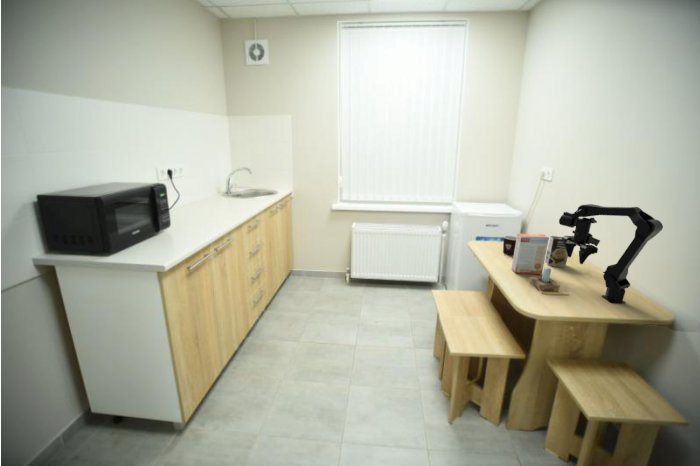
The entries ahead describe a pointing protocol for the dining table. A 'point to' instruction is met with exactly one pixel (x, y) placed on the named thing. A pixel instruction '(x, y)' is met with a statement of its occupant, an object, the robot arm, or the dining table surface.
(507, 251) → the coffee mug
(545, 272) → the light blue cylinder
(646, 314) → the dining table surface
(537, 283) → the brown square frame
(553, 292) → the lace
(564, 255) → the coffee box
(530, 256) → the cracker box
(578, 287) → the dining table surface
